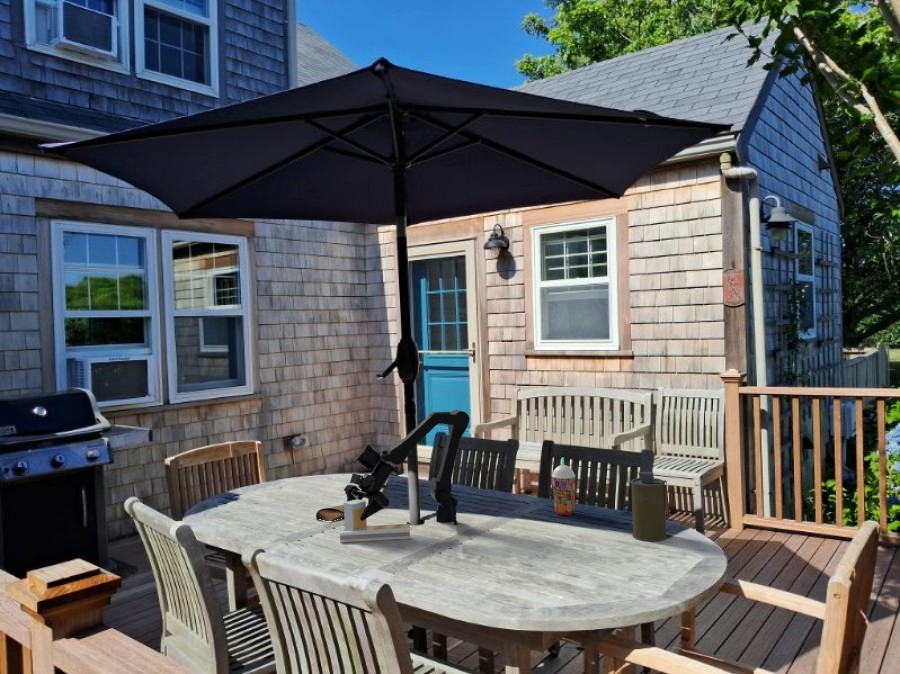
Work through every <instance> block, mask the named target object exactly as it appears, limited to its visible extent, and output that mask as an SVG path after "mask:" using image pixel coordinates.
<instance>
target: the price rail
mask: <svg viewBox="0 0 900 674" xmlns="http://www.w3.org/2000/svg"><path fill="white" fill-rule="evenodd" d="M410 528H411V527H410ZM410 528H397V529H378V530H360V531H344V530H342V531H340V532H339V541H340V542H353V543H356V542H355V541H371V542H374V541H373V540H389V541H393V540H392V539H407V540H410V539H411V538H410V537H411V531H410V530H411V529H410ZM340 542H339V543H340Z"/></svg>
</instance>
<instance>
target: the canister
mask: <svg viewBox="0 0 900 674" xmlns="http://www.w3.org/2000/svg"><path fill="white" fill-rule="evenodd" d="M638 475H639V476H640V477H639V478H638V477H637V478H633V479H631V480H630V483H631V508H632V509H631V511H632V537H633V538H634V539H635V540H638V541H644V542H660V541H664V540H666V539H667V537H668V535H667V525H666V523H667V522H666V519H667V518H668V516H669V510H668V508H669V507H668V499H666V493H668V481H667V479H666V480H665V479H660V478H655V476H654V472H653V471H648V472H647V471H640V472H639V473H638ZM665 484H666V485H665ZM665 486H666V487H665ZM665 489H666V490H665ZM665 491H666V492H665ZM666 514H667V515H666ZM666 517H667V518H666Z"/></svg>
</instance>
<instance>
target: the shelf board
mask: <svg viewBox="0 0 900 674" xmlns="http://www.w3.org/2000/svg"><path fill="white" fill-rule="evenodd" d="M397 528H411V526H410V523H401V524H398V523H397V524H382V525H379V524H378V525H367V530H378V529H397ZM343 531H345V528H344V529H343ZM404 540H405V541H406V540H408V539H392V540H391V541H404ZM385 541H386V542H387V541H388V542H389V541H390V540H373V541H355V542H339V543H340V544H349V543H367V542H368V543H371V542H385Z"/></svg>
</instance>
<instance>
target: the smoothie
mask: <svg viewBox="0 0 900 674" xmlns="http://www.w3.org/2000/svg"><path fill="white" fill-rule="evenodd" d="M551 480H552V481H551V483H552V492H553V502H554V504H553V505H554V511H555V513H556V514H557V515H558V514H559V515H558V516H563V515H567V516H572V515H573V513H574V511H575V502H576V501H575V500H576V499H575V498H576V497H575V495H576V474H575V473H574V470H573V469H572V468H571V466H568V465H566V464H565V458H564V457H561V464H560V465H558V466H557V467H555V469H554V470H553V471H552V474H551Z"/></svg>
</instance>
